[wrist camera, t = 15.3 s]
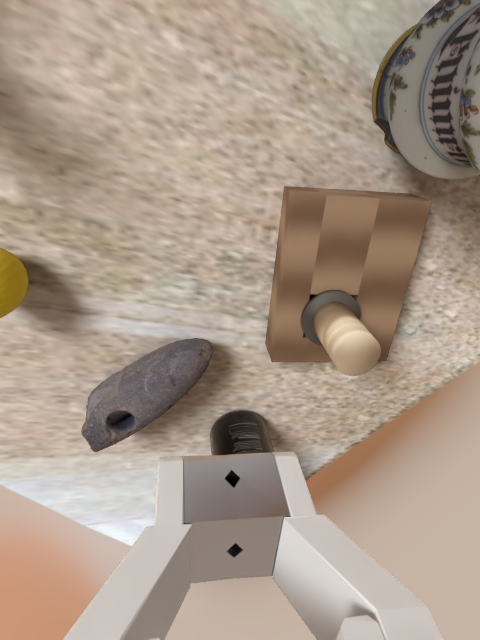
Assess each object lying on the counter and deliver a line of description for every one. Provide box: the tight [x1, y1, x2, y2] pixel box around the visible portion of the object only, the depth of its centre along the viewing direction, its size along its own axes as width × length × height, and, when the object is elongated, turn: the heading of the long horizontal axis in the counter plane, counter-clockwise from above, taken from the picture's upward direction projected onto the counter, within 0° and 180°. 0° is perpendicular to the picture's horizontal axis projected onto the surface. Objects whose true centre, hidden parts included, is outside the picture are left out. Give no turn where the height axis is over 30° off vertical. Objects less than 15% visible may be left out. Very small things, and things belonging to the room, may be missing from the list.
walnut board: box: [265, 186, 432, 362], centre depth 38 cm, size 16×12×4 cm
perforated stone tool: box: [82, 338, 212, 452], centre depth 39 cm, size 15×5×7 cm, turn 121°
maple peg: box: [301, 290, 381, 376], centre depth 36 cm, size 6×6×10 cm
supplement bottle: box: [210, 410, 274, 455], centre depth 42 cm, size 7×7×12 cm
